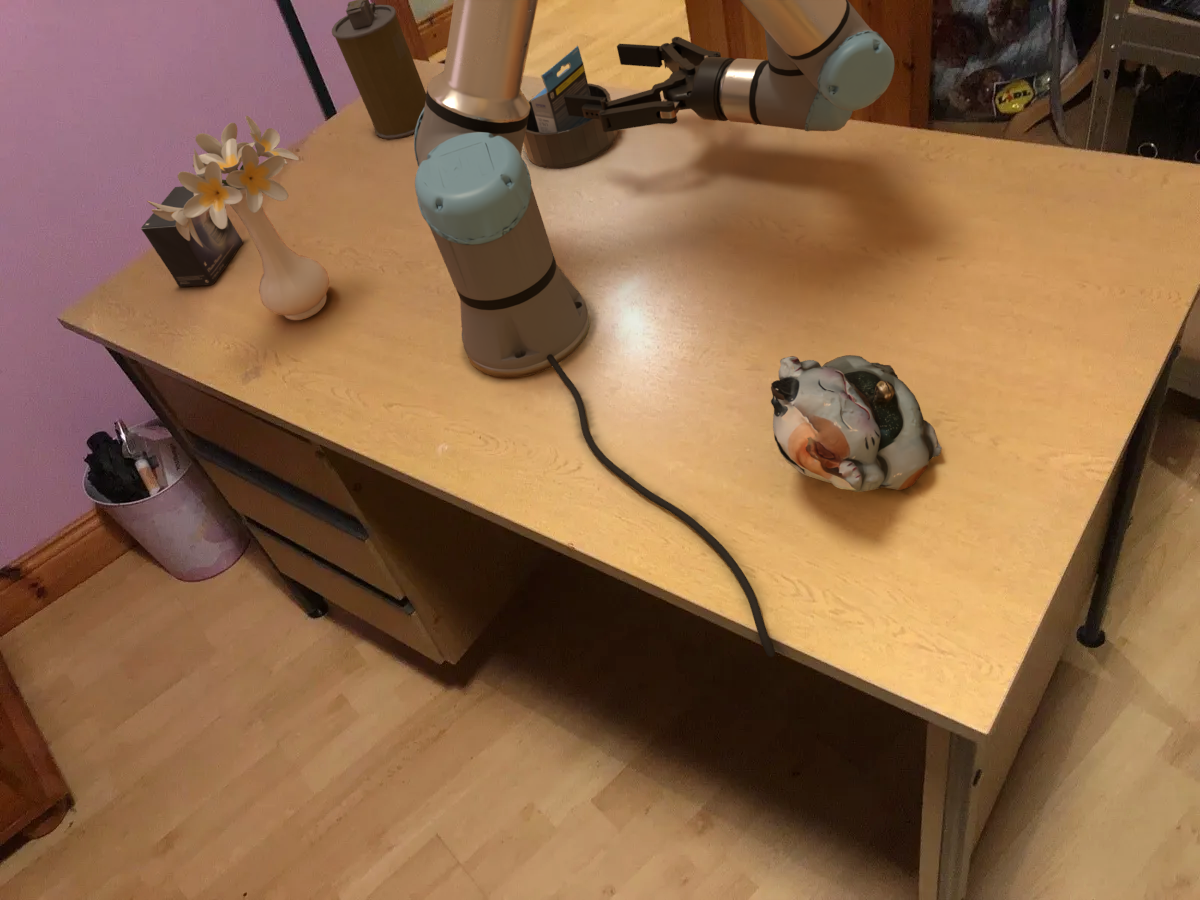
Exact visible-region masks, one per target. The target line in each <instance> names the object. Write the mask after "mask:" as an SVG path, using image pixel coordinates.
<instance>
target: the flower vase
mask: <svg viewBox="0 0 1200 900" xmlns="http://www.w3.org/2000/svg"><path fill="white" fill-rule="evenodd" d="M245 120H246V123H247V125H248V129H249V130H250V132H249V135H250V137H251V139H252V140H253V141H252V142H247V141H241V142H238V141H237V138H238V125H237V123H236V122H230V123H228V124H227V125H226V126H225V127H224V128H223V129H222V132H221V136H220V141H219V140H218V139H217V138H216V137H214V136H212V135H211V134H208V133H198V134H197V135H196V136H195V142H196V145H198V147H199V148H201V150H202V151H204V152H206V153H202V154H198V152H197V150H196V149H195V147H193V155H192V161H193V164H192V167H193V169H194V171H195V173H192V172H191V171H190V172H189V171H179V172H178V174H177V179H178V182H179V183H180V184H181V185H182V186H184V187H185V188H186V189H188V190H189V191H191V192H193V193H194V197H192V198H191V199H190V200H188V202H187V203H186V204H185V206H184V208H176V207H170V206H165V205H161V203H157V202H153V201H150V200H146V202H147V203H148V204H150V205H151V206H153V207H155V208H152V209H151V212H152V214H153V213H154V214H156V215H157V216H159V217H161V218H163V219H165V220H168V221H174V220H176V221H177V222H176V228H177V230H178V231H179V233H180V234H181V235H182V236H183V237H184V238H185V239H186V240H188V241H190V233H191V235H192V237H193V238H194V239H195V241H196V242H197V243H198V244H199V245H201V246H202V247H203V245H202V243H201V241H200V239H199V237H198V235H197V233H196V231H195V228H194V226H193V223H192V220H191V218H194V217H197V216H199V215H201V214H203V213H204V212H205V211H207V210H208V209H209V208H210V207H211V208H210V216H211V219H212V221H213V223H214V224H215V225H216V226H217V227H218V228H220V229H224V228H226V226H227V220H228V219H227V216H228V212H227V208H226V205H229V206H230V207H231V208H232V210H234V212H235V213H236V214H237V216H238V218H240V220H241V221H242V223H243V225H244V226H245V229H246V230H247V232H248V233H249V235H250V238H251V239H252V241H253V243H254V245H255V248H257V250H258V253H259V255H260V258H261V262H262V269H263V270H262V272H263V273H262V275H261V279H260V281H259V286H258V293H259V298H260V301H261V304H262V305H263V306H264V307H265V309H267V310H268V311H269V312H270V313H271V312H272V313H274V314H276V315H280V316H284V317H285V318H286V319H288V320H290V321H302V320H306V319H308V318H310V317H313V316H315V315H316V314H318V313H319V312H321V310H322V309H323V308H324V306H325V305H326V303H327V300H328V297H327V293H328V290H329V286H330V275H329V273H328V271H327V269H326V268H325V267H324V266H323V265H322V264H321V263H320V262H319V261H317V260H315V259H313V258H311V257H308V256H305V255H301V254H298V252H297V253H296V252H295V251H294V250H293V249H291V248H290V247H289V246H288V245H287V244H286V243H285V241H284V240H283V238H282V237H281V236H280V234H279V232H278V231H277V229H276V227H275V226H274V224H273V223H272V221H271V220H270V218H269V217H268V215H267V213H266V212H265V210H264V207H263V202H264V196H263V195H265V196H267V197H268V198H271V199H272V200H275V201H278V202H285V201H287V200H288V199H289V193H288V191H287V189H286V188H285V187H284V185H282V184H281V183H280V182H278V181H276V180H275V179H272V178H274V177H275V176H277V175H278V174H280V173H281V172H282V170H283V168H284V166H285V165H288V160H289V161H296V162H297V161H299V160H300V159H299V157H298V156H297V155H296V154H295V153H293V152H292V151H290V150H288V149H286V148H283V147H278V146H279V144H280V142H281V137H280V134H279V132H278V131H277V130H276V129H275V128H272V127H268V128H267V129H265V131H264V132H263V134H262V131H261V129H260V128H259V125H258V124H257V123H256V122H255V120H253V118H251V117H250V116H249V115H245ZM254 147H255V148H254ZM260 157H264V158H266V159H265V160H264V161H262V162H261V163H260ZM241 164H242V165H241ZM240 165H241V166H240ZM239 167H240V168H239ZM238 168H239V169H238ZM223 175H226V176H225V179H223ZM157 208H158V209H157Z"/></svg>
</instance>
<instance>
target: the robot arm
mask: <svg viewBox="0 0 1200 900" xmlns="http://www.w3.org/2000/svg"><path fill="white" fill-rule="evenodd" d="M538 2H539V0H453V5H452V11H451V20H450V26H449V33H448V39H447V40H448V41H447V45H446V53H445V60H444V66H443V67H444V68H443V71H441V72H439V73H438V74H437V75H435V76H434V77H432V78H431V79H430V80H429V81H428V83H427V86H426V87H427V88H426V101H425V107H424V109H423V110H422V112H421V114H420V116H419V119H418V122H417V126H416V129H415V133H414V135H413V136H414V137H413V148H414V157H415V160H416V163H417V169H416V174H415V178H414V189H415V194H416V197H417V204H418V208H419V211H420V213H421V216H422V217H423V219H424V221H425V222H426V223H427V225H428V227H429V229H430V231H431V234H432V236H433V238H434V241H435V243H436V245H437V248H438V251H439V252H440V254H441V257H442V260H443V262H444V265H445V267H446V269H447V271H448V274H449V277H450V278H451V281H452V283H453V286H454V288H455V291H456V292H457V293H456V294H457V295H458V297H459V301H460V321H461V323H460V324H461V340H462V341H461V342H462V345H463V349H464V351H465V354H466V356H467V358H468V359H469V362H470V363H471V364H472V365H473V367H474V368H476V369H477V370H478V371H480V372H481V373H484V374H486V375H489V376H493V377H498V378H521V377H526V376H531V375H535V374H537V373H541V372H544V371H546V370H548V369H551V368H553V370H554V371H555V373H556V374H557V376H558V377H559V378H560V380H561V381H562V382H563V383H564V385H565V386H566V387H567V389H568V390H569V392H570V394H571V395H572V397H573V399H574V401H575V404H576V407H577V412H578V417H579V422H580V428H581V432H582V433H581V434H582V435H583V438H584V440H585V442H586V444H587V446H588V448H589V449H590V451H591V452H592V453H593V455H594V456H595V458H597V460H599V461H600V463H601V464H602V465H604V466H605V467H606V468H607V469H608V470H609V471H610V472H612V474H614V475H616V476H617V477H618V478H619V479H621V481H623V482H625V483H626V484H627V485H629V486H630V488H632V489H633V490H635V491H636V492H638V493H639V494H640V495H642V496H643V497H644V498H646V499H647V500H649V501H651V502H652V503H654V504H655V505H658V506H659V507H661V508H663V509H664V510H666V511H668V512H669V513H671V514H672V515H674V516H676V518H678V519H680V520H681V521H682V522H683V523H685V524H686V525H688V526H689V527H690V528H691V529H693V531H695V532H696V533H697V534H698V535H699V536H700V537H702V539H703V540H704V541H705V542H706V543H707V544H708V545H709V546H710V547H711V548H713V549H714V551H715V552H716V553H717V554H718V555H719V556H720V557H721V559H722V560H723V561H724V562H725V564H726V565H727V567H728V568H729V569H730V571H731V572H732V573H733V575H734V577H735V579H736V580H737V582H738V583H739V585H740V587H741V588H742V591H743V593H744V595H745V596H746V599H747V601H748V604H749V608H750V610H751V614H752V617H753V621H754V625H755V627H756V631H757V634H758V637H759V639H760V643H761V645H762V647H763V649H764V653H765V655H766V656H767V657H769V658H773V657H774V656H775V654H776V651H775V649H774V646H773V643H772V641H771V638H770V635H769V633H768V630H767V627H766V624H765V620H764V617H763V614H762V610H761V606H760V604H759V601H758V598H757V595H756V593H755V591H754V589H753V587H752V585H751V583H750V581H749V580H748V578H747V576H746V575H745V573H744V571H743V569H742V568H741V567H740V565H739V564H738V563H737V561H736V560H735V559H734V557H733V556H732V555H731V554H730V553H729V552H728V550H727V549H726V548H725V547H724V546H723V544H722V543H720V541H719V540H717V539H716V538H715V536H714V535H712V534H711V533H710V531H708V530H707V529H706V528H705V527H703V526H702V525H701V524H700V523H699V522H698V521H697V520H695V518H693V517H692V516H691V515H690V514H688V513H687V512H685V511H683V510H682V509H680V508H679V507H677V506H675V505H674V504H672V503H670V502H669V501H667V500H666V499H663V498H662V497H660V496H659V495H657V494H655V493H654V492H652V491H651V490H650V489H648V488H646V487H645V486H644V485H642V484H641V483H639V481H637V480H636V479H634V478H633V477H631V475H629V474H628V473H626V472H625V471H624V470H622V468H620V467H619V466H617V465H616V464H615V463H614V462H613V461H611V460H610V459H609V458H608V457H607V456H606V455H605V454H604V453H603V451H602V450H601V449H600V448H599V447H598V445H597V443H596V442H595V440H594V438H593V436H592V434H591V432H590V428H589V424H588V419H587V413H586V408H585V405H584V404H585V403H584V401H583V397H582V396H581V393H580V392H579V390H578V388H577V387H576V385H575V383H574V382H573V381H572V380H571V379H570V377H569V376H568V375H567V373H566V372H565V371H564V369H563V368H562V367H561V365H560V363H563V361H565V360H566V359H567V358H569V357H570V356H571V355H572V354H573V353H575V351H577V349H578V348H579V347H580V346H581V345H582V343H583V342H584V341H585V338H586V337H587V336H588V335H587V334H588V332H589V329H590V324H591V323H590V322H591V321H590V320H591V318H590V314H589V310H588V307H587V304H586V301H585V300H584V298H583V296H582V294H581V292H580V291H579V290H578V289H577V287H576V286H575V285H574V284H573V283H572V281H571V280H570V279H569V278H568V277H567V275H566V274H565V273H564V271H563V270H562V269H561V268H560V266H558V264H557V261H556V258H555V255H554V252H553V248H552V245H551V243H550V239H549V236H548V232H547V230H546V226H545V224H544V220H543V218H542V213H541V212H540V209H539V204H538V201H537V198H536V196H535V193H534V189H533V186H532V180H531V174H530V171H529V168H528V166H527V163H526V161H525V160H524V159H523V158H522V152H523V147H524V144H523V142H524V137H525V132H526V127H527V122H528V117H529V112H530V104H529V100H528V99H527V97H526V96H525V95H524V93H523V91H522V89H521V88H522V83H523V78H524V73H525V67H526V62H527V58H528V53H529V49H530V48H529V47H530V43H531V37H532V33H533V28H534V23H535V18H536V14H537V13H536V12H537V7H538ZM739 2H740V3H741V4H742V5H743V6H744V7H745V8H746V9H747V11H748V12H749V14H751V15H752V17H754V19H756V21H757V22H758V23H759V24H760V25H761V26H762V27H763V28H764V35H765V45H766V54H767V59H757V58H756V59H755V58H739V57H738V58H733V57H722V55H721V52H720V51H715V50H708V49H706V48H704V47H701V46H699V45H697V44H695V43H693V42H691V41H689V40H686V39H684V38H683V37H680V36H674V37H672V38H671V42H670V43H668V42H664V43H662V44H661V45H649V44H636V43H635V44H634V43H618V44H617V45H616V49H617V54H618V58H619V63H620V65H621V66H634V67H648V68H661V67H662V66H663V63H664V69H669V71H670V72H671V74H670V75H669V77H668V78H667V79H665V80H664V81H662V82H658V83H655V84H654V85H652V87H651V88H650V89H648V90H643V91H640V92H637V93H634V94H630V95H626V96H624V97H620V98H616V99H613V100H612V99H611V101H609V102H608V100H607V98H605V97H594V96H584V95H574V94H566V95H565V96H564V100H565V104H566V107H567V111H568V115H570V116H579V117H585V118H589V119H598V120H600V122H601V126H602V130H603V131H604V132H609V131H615V130H618V131H620V130H627V129H634V128H639V127H647V126H652V125H658V124H660V125H674V124H676V123H678V115H677V114H678V113H679V111H685V110H691V111H693V112H694V113H695V114H696V115H697V116H698V117H699V118H700V119H703V120H706V121H707V120H708V121H716V122H717V121H718V122H727V121H729V122H732V123H741V124H752V125H754V126H756V125H760V126H766V127H767V126H768V127H769V126H770V127H776V128H785V129H792V130H793V129H794V130H800V131H801V130H802V131H805V132H836V131H840V130H841V129H842V128H844V127H845V126H846V124H847V123H848V122H849V121H850V119H851V117H852V114H853V112H854V111H859V110H863V109H865V108H867V107H869V106H871V105H872V104H874V103H875V102H876V101H877V100H878V99H880V97H881V96H883V94H884V93H885V92H886V91H887V90H888V88H889V86H890V84H891V83H892V79H893V77H894V72H895V65H896V64H895V56H894V52H893V50H892V49H891V48H890V46H889V45H888V43H886V41H885V40H884V38H883V36H881V34H880V33H879V32H877V31H874V30H873V29H872V28H871V27H870V26H869V25H868V24H867V22H865V20H864V18H863V17H862V16H861V14H860V13H859V12H858V11H857V10H856V9H855V7H854V6H853V5H852V3H851V2H850V1H849V0H739ZM661 92H662V96H661ZM662 97H663V99H662ZM612 108H613V109H612Z"/></svg>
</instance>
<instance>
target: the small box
mask: <svg viewBox="0 0 1200 900" xmlns="http://www.w3.org/2000/svg"><path fill="white" fill-rule="evenodd" d="M192 197H194V193H193V192H191V191H189V190H188V189H186V188H185V187H184V186H183V185H182V186H174V188H172V190H171V191H170V192H169V194H168V195H167V196H166V197H165V198H164V199H163V201H162V202H161V203H160V204H161V205H165V206H170V207H176V208H184V206H185V204H186V203H187V202H188V200H190V199H191V198H192ZM210 208H211V207H210ZM210 208H209V209H208V210H207V211H205V212H204V213H203V214H201V215H199V216H197V217H194V218H191V220H192V223H193V226H194V228H195V231H196V233H197V235H198V237H199V239H200V241H201V243H202V245H203V247H202V246H201V245H199V244H198V243H197V242H196V241H195V239H194V238H193V237H192V235H191V233H190V241H188V240H186V239H185V238H184V237H183V236H182V235H181V234H180V233H179V231H178V230H177V228H176V222H177V221H176V220H174V221H168V220H165V219H163V218H161V217H159V216H157V215H156V214H154V213H153V212H152V213H151V215H150V216H149V217H148V218H147V220H146V221H145V222H144V224H143V225H142V226H141V227H140V230H141V231H142V233H143V234H144V235H145V237H146V238H147V240H148V242H149V243H150V245H151V246H152V247H153V249H154V251H155V252H156V253H157V255H158V256H159V258H160V259H161V261H162V263H163V264H164V265H165V267H166V268H167V270H168V271H169V273H170V274H171V276H172V277H173V279H174V281H175V282H176V284H177V286H178V287H179V288H180V287H181V288H183V287H197V286H198V287H199V286H212V285H214V284H215V282H216V281H217V280H218V279H219V277H220V275H221V274H222V273H223V271H224V270H225V268H226V267H227V266H228V264H229V263H230V261H231V260H232V259H233V257H234V256H235V255H236V253H237V251H238V250H239V249H240V248H241V246H242V245H243V243H244V241H243V239H242V237H241V236H240V234H239V233H238V231H237V229H236V227H235V226H234V223H233V222H232V221H231V219H230V217H229V215H227V219H228V220H227V226H226V228H224V229H220V228H218V227H217V226H216V225H215V224H214V223H213V221H212V219H211V216H210ZM156 209H158V208H156Z"/></svg>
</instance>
